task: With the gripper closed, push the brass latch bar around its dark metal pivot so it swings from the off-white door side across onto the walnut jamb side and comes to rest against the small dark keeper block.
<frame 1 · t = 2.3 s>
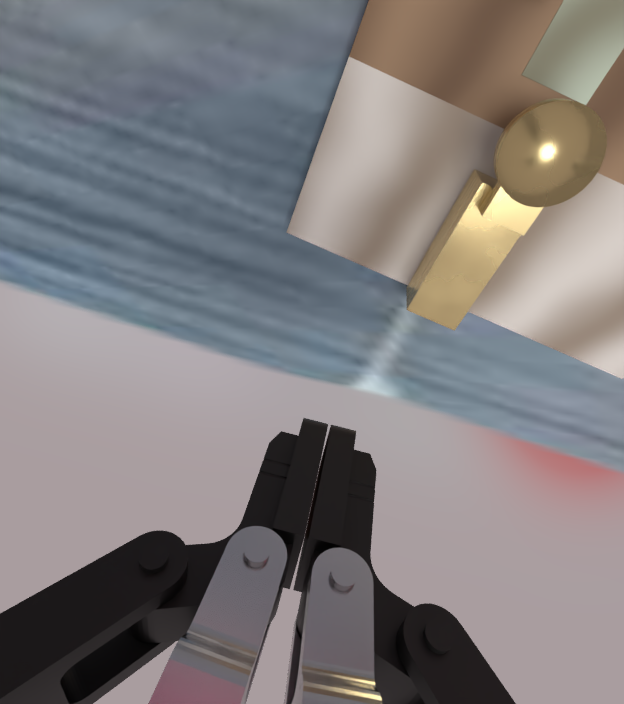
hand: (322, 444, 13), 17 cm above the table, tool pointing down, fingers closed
door board: (552, 149, 22), on the table
latch bar: (488, 223, 21), point 4 cm above the table, hinge at -90.0°
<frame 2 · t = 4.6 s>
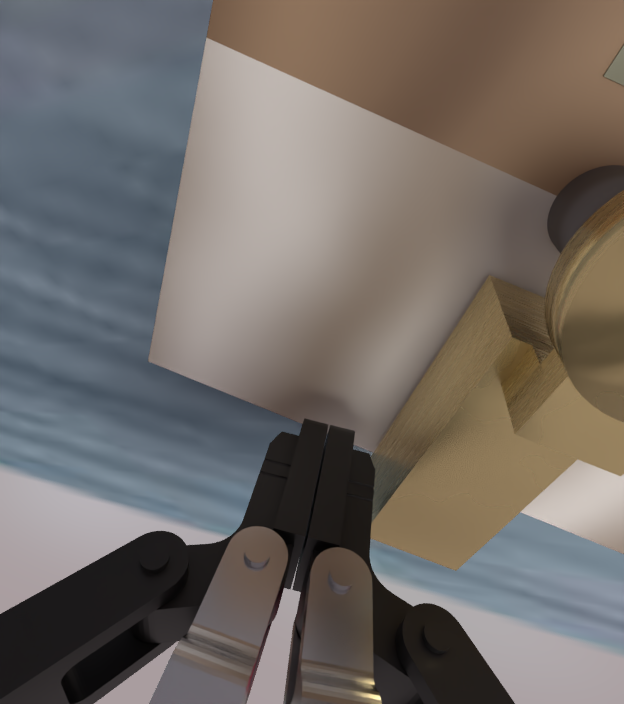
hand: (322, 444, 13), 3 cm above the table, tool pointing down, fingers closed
latch bar: (524, 402, 10), point 4 cm above the table, hinge at -88.9°, touching gripper
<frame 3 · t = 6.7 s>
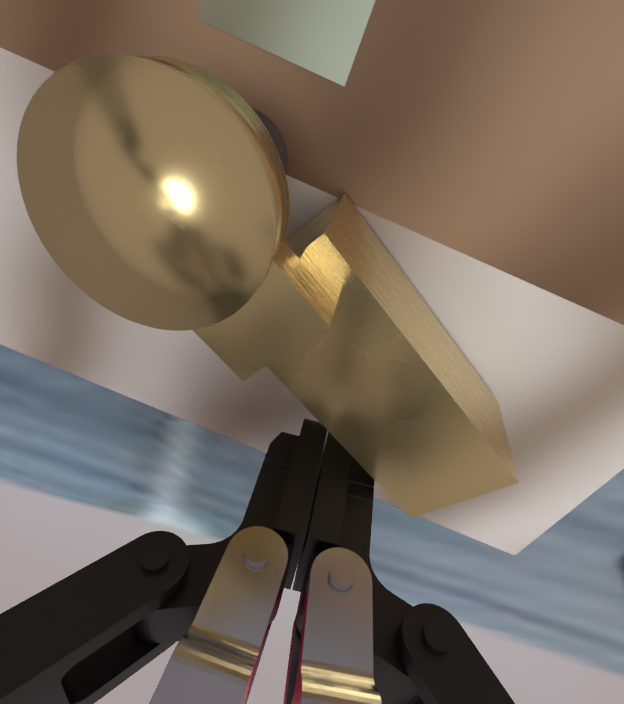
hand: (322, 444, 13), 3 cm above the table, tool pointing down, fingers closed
door board: (334, 177, 12), on the table
latch bar: (323, 322, 9), point 4 cm above the table, hinge at -29.5°, touching gripper
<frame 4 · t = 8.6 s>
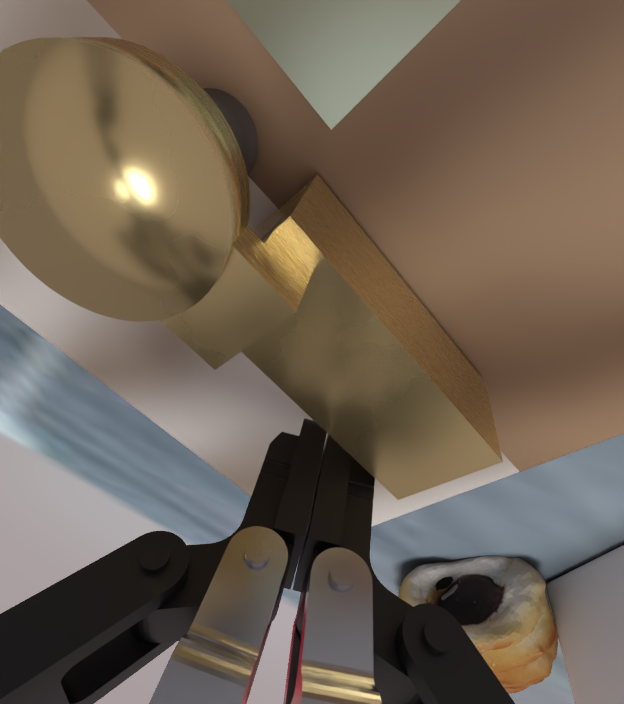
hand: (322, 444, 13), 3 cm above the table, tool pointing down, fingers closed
door board: (291, 189, 12), on the table
pastry: (478, 591, 22), on the table
latch bar: (298, 307, 9), point 4 cm above the table, hinge at -1.6°, touching gripper
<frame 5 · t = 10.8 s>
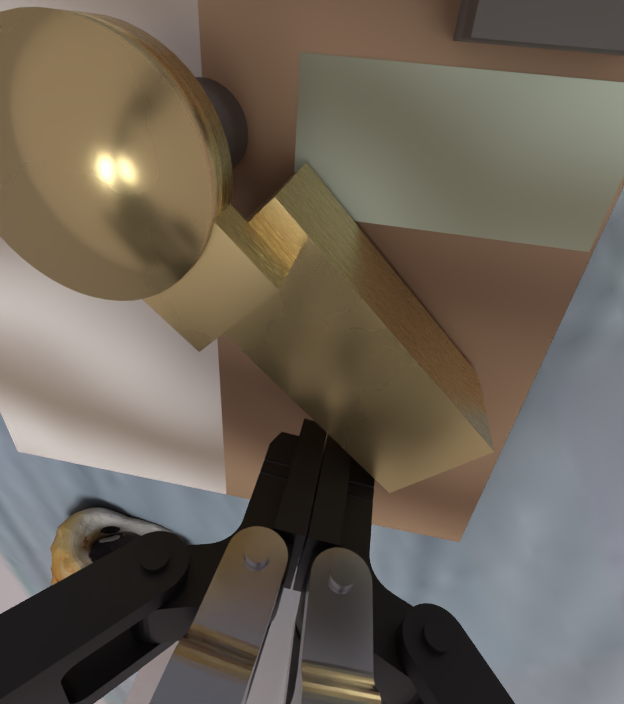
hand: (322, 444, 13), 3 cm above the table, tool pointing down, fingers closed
door board: (231, 199, 12), on the table
pastry: (133, 544, 25), on the table
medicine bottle: (265, 595, 25), on the table
latch bar: (286, 293, 9), point 4 cm above the table, hinge at 46.2°, touching gripper
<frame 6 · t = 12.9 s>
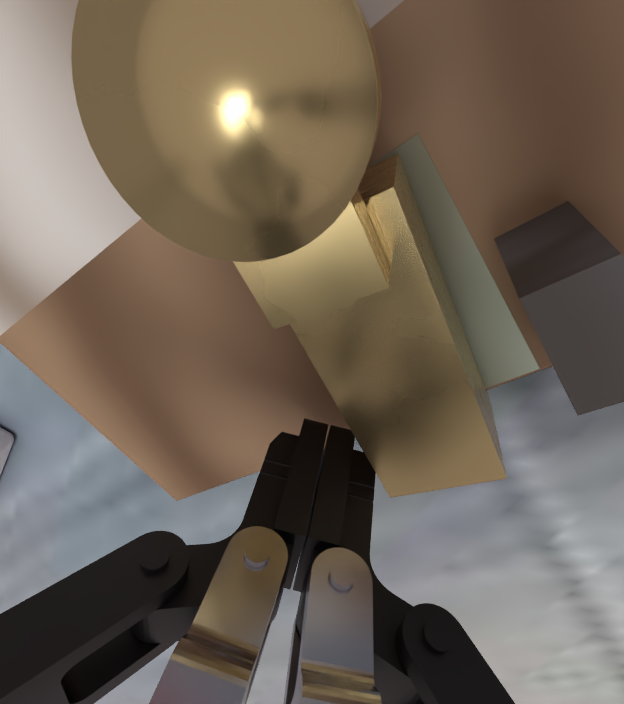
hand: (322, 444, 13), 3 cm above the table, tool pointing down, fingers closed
door board: (250, 133, 11), on the table
latch bar: (356, 284, 9), point 4 cm above the table, hinge at 81.9°
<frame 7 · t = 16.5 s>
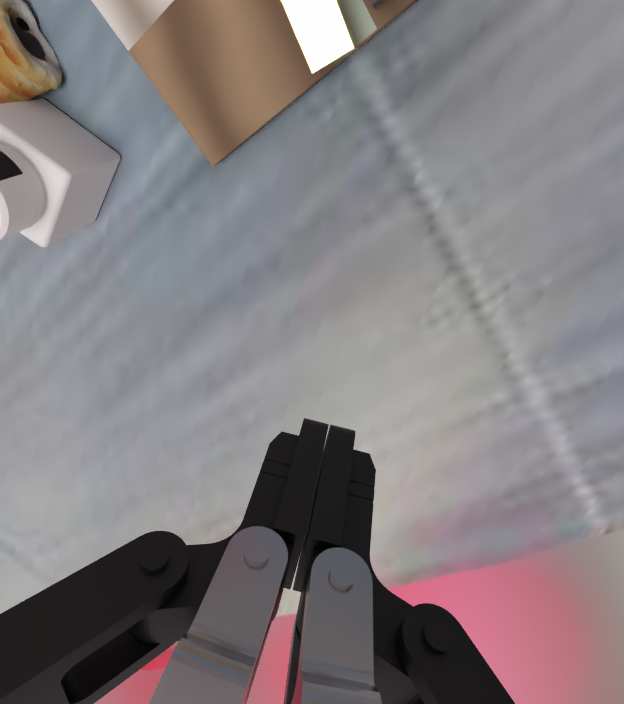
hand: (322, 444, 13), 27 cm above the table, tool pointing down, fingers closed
pastry: (14, 58, 34), on the table
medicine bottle: (72, 163, 38), on the table
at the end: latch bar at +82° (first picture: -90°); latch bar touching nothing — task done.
